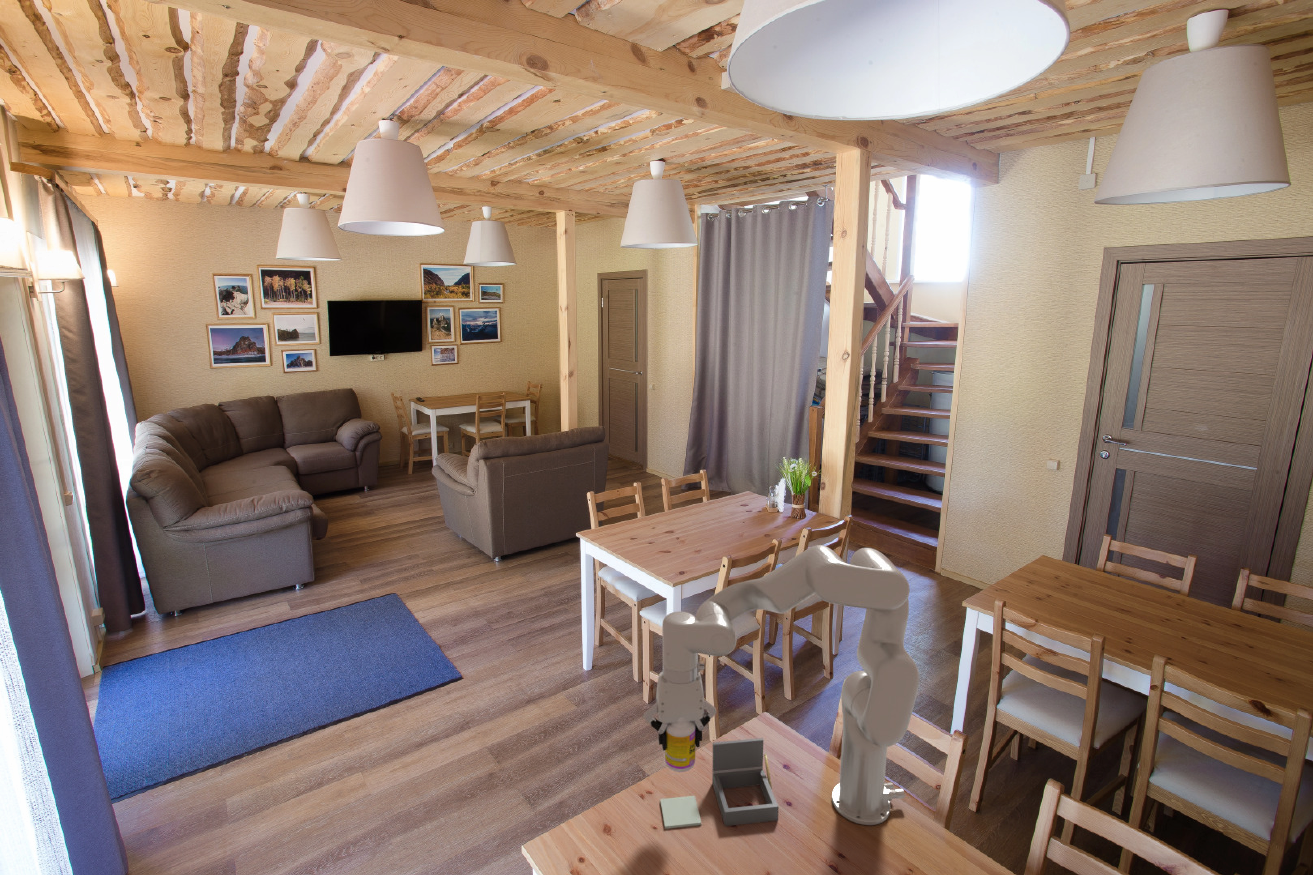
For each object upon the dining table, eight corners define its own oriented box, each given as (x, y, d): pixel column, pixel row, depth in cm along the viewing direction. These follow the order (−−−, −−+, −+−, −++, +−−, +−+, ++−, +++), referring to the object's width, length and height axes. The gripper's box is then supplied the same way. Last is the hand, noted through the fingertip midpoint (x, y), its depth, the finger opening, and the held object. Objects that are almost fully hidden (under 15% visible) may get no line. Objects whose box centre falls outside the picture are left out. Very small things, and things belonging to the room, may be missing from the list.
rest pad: (694, 797, 147) (694, 795, 147) (701, 824, 139) (701, 822, 139) (660, 801, 146) (660, 798, 146) (665, 828, 138) (665, 826, 138)
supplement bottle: (692, 775, 136) (693, 721, 134) (662, 771, 138) (662, 718, 135) (697, 754, 143) (697, 703, 140) (668, 750, 144) (667, 699, 142)
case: (765, 778, 153) (766, 737, 151) (782, 819, 140) (783, 775, 138) (712, 783, 151) (712, 742, 149) (724, 825, 139) (725, 781, 137)
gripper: (716, 658, 141) (715, 730, 144) (638, 663, 139) (639, 737, 142) (724, 676, 133) (722, 752, 137) (641, 683, 131) (642, 760, 135)
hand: (680, 744), depth 139 cm, fingers closed on supplement bottle, 6 cm apart
